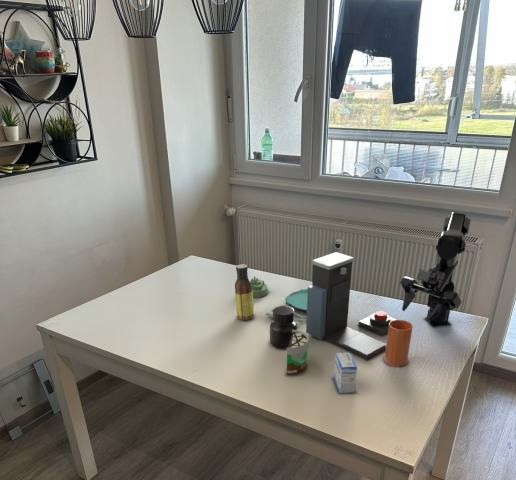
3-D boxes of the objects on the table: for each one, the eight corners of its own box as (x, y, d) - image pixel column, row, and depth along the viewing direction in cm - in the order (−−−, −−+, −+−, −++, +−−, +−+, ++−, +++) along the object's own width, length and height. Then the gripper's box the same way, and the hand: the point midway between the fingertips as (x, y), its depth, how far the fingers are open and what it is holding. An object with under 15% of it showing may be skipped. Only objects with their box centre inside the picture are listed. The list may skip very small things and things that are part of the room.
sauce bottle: (256, 314, 181) (254, 263, 171) (250, 322, 176) (248, 270, 166) (239, 312, 183) (237, 262, 173) (233, 319, 178) (231, 268, 168)
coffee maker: (331, 322, 175) (336, 251, 162) (388, 347, 158) (399, 271, 145) (304, 334, 167) (307, 261, 154) (361, 362, 150) (369, 284, 137)
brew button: (379, 314, 172) (379, 309, 171) (388, 318, 170) (389, 313, 169) (372, 317, 170) (372, 313, 169) (381, 321, 167) (382, 317, 166)
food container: (306, 379, 143) (307, 350, 138) (286, 377, 144) (286, 348, 139) (311, 358, 153) (312, 330, 148) (292, 356, 154) (292, 328, 149)
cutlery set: (348, 303, 188) (348, 297, 187) (298, 330, 170) (298, 324, 168) (307, 289, 200) (308, 284, 199) (257, 313, 182) (257, 308, 180)
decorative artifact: (272, 292, 198) (256, 285, 205) (272, 276, 195) (255, 270, 201) (254, 299, 192) (238, 292, 199) (253, 283, 189) (237, 276, 195)
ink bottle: (291, 334, 167) (291, 302, 161) (302, 346, 160) (303, 313, 154) (264, 339, 164) (264, 307, 158) (274, 352, 157) (274, 318, 151)
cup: (400, 353, 155) (406, 318, 148) (410, 365, 149) (416, 328, 143) (380, 356, 153) (385, 321, 147) (390, 367, 148) (395, 331, 141)
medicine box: (333, 378, 143) (335, 352, 139) (348, 377, 144) (350, 351, 139) (339, 393, 136) (341, 367, 132) (355, 392, 137) (357, 366, 132)
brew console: (377, 316, 178) (378, 307, 176) (400, 325, 171) (402, 316, 169) (358, 326, 172) (359, 317, 170) (381, 336, 165) (382, 326, 163)
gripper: (407, 251, 150) (381, 294, 149) (463, 267, 137) (435, 313, 137) (418, 269, 158) (393, 309, 157) (472, 285, 146) (446, 329, 145)
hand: (415, 315), depth 149 cm, fingers open, 9 cm apart
